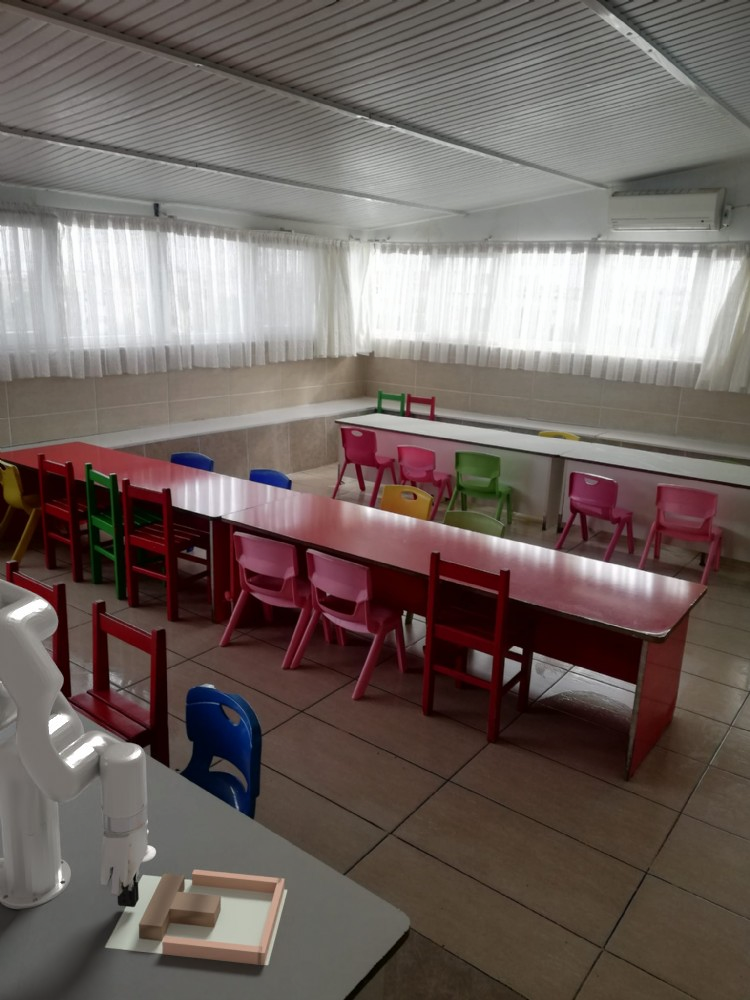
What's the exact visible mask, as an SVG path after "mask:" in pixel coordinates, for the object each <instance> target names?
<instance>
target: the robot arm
mask: <svg viewBox="0 0 750 1000" xmlns="http://www.w3.org/2000/svg"><path fill="white" fill-rule="evenodd" d="M58 618H59V616H58V615H57V612H56V610H55V608H54V607H53V606H52V604H51V603H50V602H49V601H48V600H46V599H45V598H43V596H40V595H39V594H37V593H34V592H32V591H30V590H28V589H27V588H23V587H21V586H19V585H17V584H14V583H12V582H10V581H7V580H4V579H1V578H0V733H2V732H3V731H5V730H7V729H8V728H10V727H12V726H13V725H15V731H14V732H13V733H12V734H10V735H9V736H7V737H5V739H4V740H3V741H1V742H0V827H1V837H2V851H3V857H0V903H1V905H3V906H4V907H6V908H9V909H13V910H22V909H28V908H34V907H38V906H40V905H41V906H42V905H43V904H46V903H48V902H49V901H50V902H51V901H52V900H53V899H55V898H56V897H58V896H59V895H60V894H61V893H62V892H63V891H64V890H65V889H66V888H67V886H68V885H69V883H70V880H71V878H72V877H71V872H72V871H71V867H70V865H69V864H68V862H67V861H66V860H64V859H63V858H62V854H61V853H62V851H61V837H60V836H61V835H60V819H59V817H60V815H59V803H68V802H71V801H72V800H74V799H76V798H77V797H78V796H80V794H82V793H83V792H84V791H85V790H86V789H88V788H89V786H91V785H92V784H93V783H94V782H95V781H96V780H98V779H99V782H100V783H99V785H100V800H101V801H100V802H101V803H100V805H101V823H102V824H101V825H102V827H101V828H102V830H103V831H104V832H103V834H102V840H101V841H102V842H101V850H100V851H101V852H100V854H101V855H100V882H101V885H103V886H107V885H108V883H109V882H110V880H111V892H110V893H111V894H110V895H111V896H116V897H117V905H118V906H120V907H126V906H127V907H135V906H136V902H138V900H139V893H138V883H139V881H138V880H139V877H140V867H141V866H140V865H141V864H142V863H141V862H142V860H143V858H144V856H145V854H146V852H147V845H148V834H147V829H148V823H147V824H146V822H147V820H148V817H149V816H148V813H149V812H148V791H147V790H148V789H147V788H148V787H147V786H148V784H147V760H146V759H147V757H146V753H145V751H144V749H143V748H142V747H141V746H140V745H139V744H136V743H133V742H122V741H120V740H119V739H116V738H114V737H113V736H111V735H109V734H108V733H106V732H103V731H100V730H89V731H87V732H85V729H84V726H83V722H82V720H81V719H80V717H79V716H78V713H76V711H75V709H74V708H73V707H72V705H71V704H70V702H69V701H68V700H67V698H66V697H65V695H64V694H63V692H62V691H61V689H62V687H63V685H64V676H63V674H62V672H61V671H60V669H59V668H58V666H57V665H56V663H55V661H54V660H53V659H52V657H51V656H50V654H49V652H48V651H47V649H46V648H45V646H44V645H43V643H42V642H43V641H44V640H46V639H48V638H49V637H51V636H52V635H54V634H55V632H56V631H57V629H58V625H59V619H58ZM148 821H149V820H148Z"/></svg>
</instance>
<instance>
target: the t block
mask: <svg viewBox="0 0 750 1000" xmlns="http://www.w3.org/2000/svg"><path fill="white" fill-rule="evenodd" d="M161 877H162V878H161V880H160V882H159V884H158V886H157V888H156V890H155V892H154V894H153V896H152V898H151V900H150V902H149V904H148V906H147V908H146V910H145V913H144V915H143V917H142V919H141V921H140V923H139V939H147V940H156V941H162V940H163V938H164V935H165V933H166V931H167V929H168V926H169V924H170V923H176V924H185V925H195V926H204V927H215V925H216V922H217V919H218V916H219V914H220V911H221V896H214V895H204V894H195V893H185V892H184V890H185V875H181V874H180V875H179V874H173V873H172V874H170V873H163V874H162V876H161Z"/></svg>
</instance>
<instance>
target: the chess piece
mask: <svg viewBox="0 0 750 1000" xmlns="http://www.w3.org/2000/svg"><path fill="white" fill-rule="evenodd" d="M148 823H149V820H147V822H146V824H147V825H148ZM148 834H149V829H148V828H147V835H148ZM156 854H157V850H156V848H155V847H153V845H148V844H147V852H146V854H145V856H144V858H143V860H142V862H141V864H142V863H147V862H149V861H151V860H152V859H153V858H155V856H156Z"/></svg>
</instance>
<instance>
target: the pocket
mask: <svg viewBox="0 0 750 1000" xmlns="http://www.w3.org/2000/svg"><path fill="white" fill-rule="evenodd" d="M285 879H286V878H281V877H271V876H263V875H253V874H252V875H251V874H243V873H233V872H232V873H231V872H225V871H223V872H222V871H213V870H202V869H193V871H192V873H191V880H192V885H199V886H209V887H218V888H228V889H238V890H247V891H257V892H267V893H274V896H273V899H272V903H271V906H270V910H269V913H268V917H267V921H266V924H265V928H264V931H263V935H262V939H261V942H260V946H251V945H242V944H232V943H223V942H214V941H205V940H195V939H186V938H177V937H168V936H165V937H164V939H163V942H162V951H163V954H162V955H167V954H169V955H170V956H176V955H178V957H185V956H188V957H187V958H194V957H197V958H196V959H204V958H206V960H213V959H215V960H214V961H222V960H224V961H223V962H231V961H233V962H232V963H240V962H242V963H241V964H249V963H251V964H252V965H258V964H261V965H260V966H266V965H265V961H266V958H267V954H268V950H269V946H270V942H271V938H272V935H273V931H274V927H275V923H276V919H277V916H278V912H279V908H280V904H281V900H282V897H283V893H284V889H285V884H286V883H285V881H286V880H285ZM169 955H168V956H169ZM251 964H250V965H251Z"/></svg>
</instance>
